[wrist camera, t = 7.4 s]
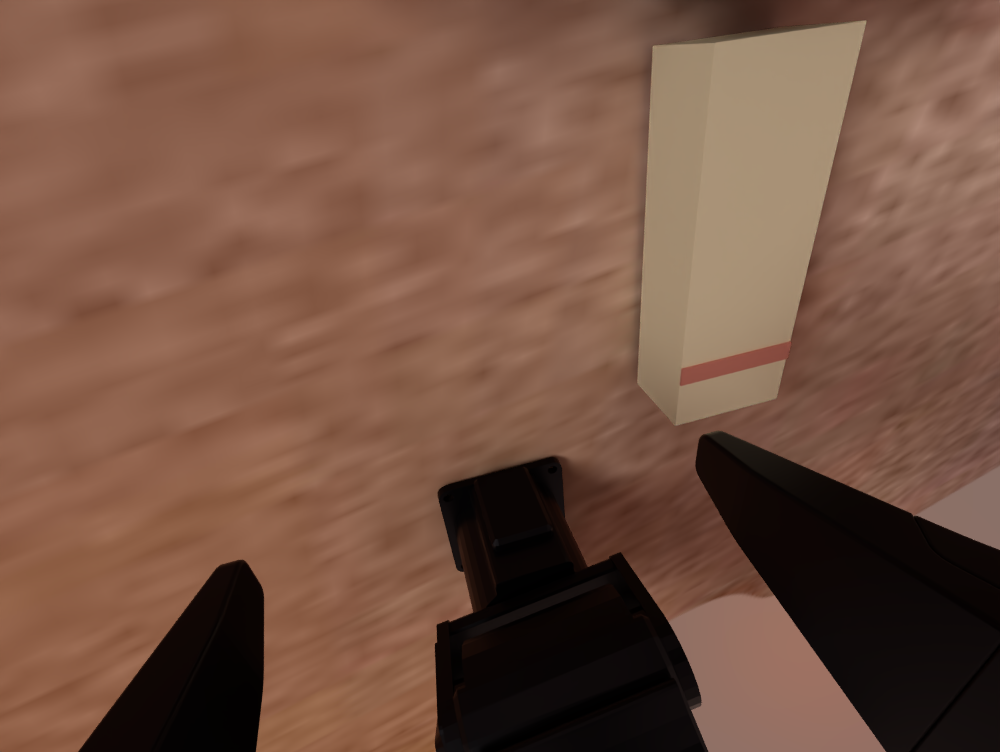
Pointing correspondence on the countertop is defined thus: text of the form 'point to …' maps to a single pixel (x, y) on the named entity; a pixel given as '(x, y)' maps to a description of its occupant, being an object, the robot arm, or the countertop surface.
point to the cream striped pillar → (735, 207)
